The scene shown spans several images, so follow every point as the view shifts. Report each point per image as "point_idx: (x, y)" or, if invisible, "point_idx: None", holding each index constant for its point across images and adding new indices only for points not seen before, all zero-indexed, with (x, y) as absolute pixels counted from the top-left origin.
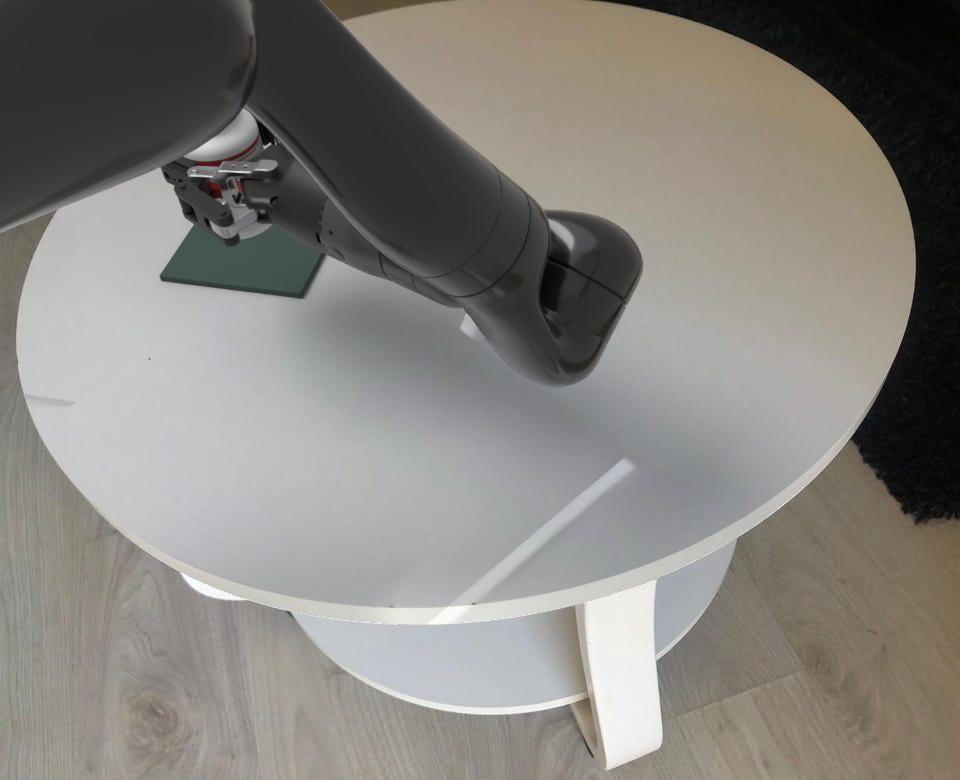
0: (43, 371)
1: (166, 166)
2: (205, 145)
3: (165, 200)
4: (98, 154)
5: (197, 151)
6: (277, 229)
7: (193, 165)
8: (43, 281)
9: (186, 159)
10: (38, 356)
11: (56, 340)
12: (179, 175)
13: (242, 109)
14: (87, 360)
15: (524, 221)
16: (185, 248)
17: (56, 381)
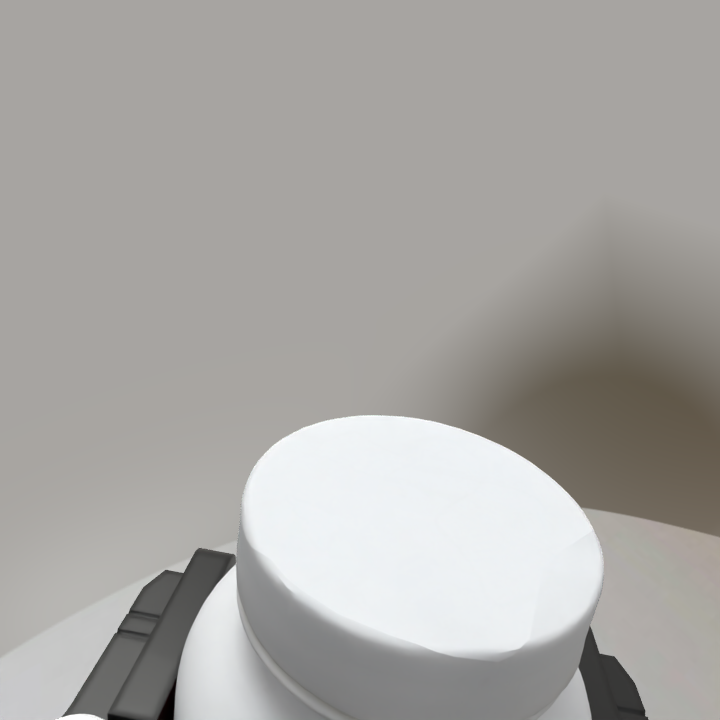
0: (31, 660)
1: (145, 604)
2: (213, 704)
3: None
4: None
5: (185, 684)
6: None
7: (128, 716)
8: (235, 551)
9: (176, 656)
10: (70, 632)
11: (112, 635)
12: (83, 687)
13: (566, 705)
14: (63, 714)
15: None
16: None
17: (2, 695)
